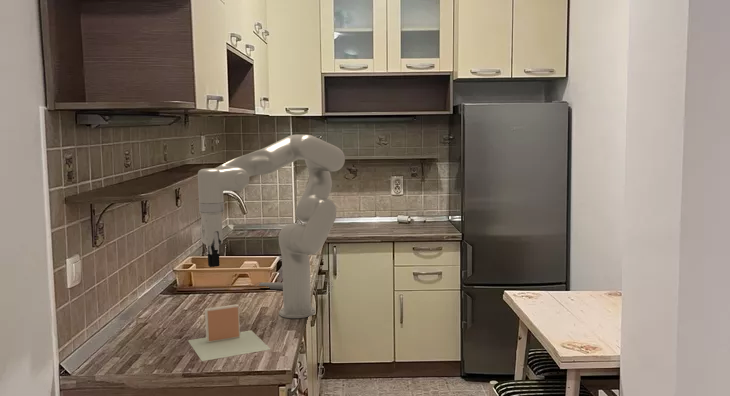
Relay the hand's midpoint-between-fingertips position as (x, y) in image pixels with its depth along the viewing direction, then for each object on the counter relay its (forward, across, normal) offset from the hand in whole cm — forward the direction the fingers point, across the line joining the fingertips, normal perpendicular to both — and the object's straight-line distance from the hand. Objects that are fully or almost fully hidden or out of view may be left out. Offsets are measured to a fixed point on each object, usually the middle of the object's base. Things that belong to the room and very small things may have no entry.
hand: (213, 266), depth 206 cm
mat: (+22, +14, 0) cm, 26 cm away
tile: (+21, +8, 0) cm, 23 cm away
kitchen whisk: (+22, -38, +40) cm, 59 cm away
